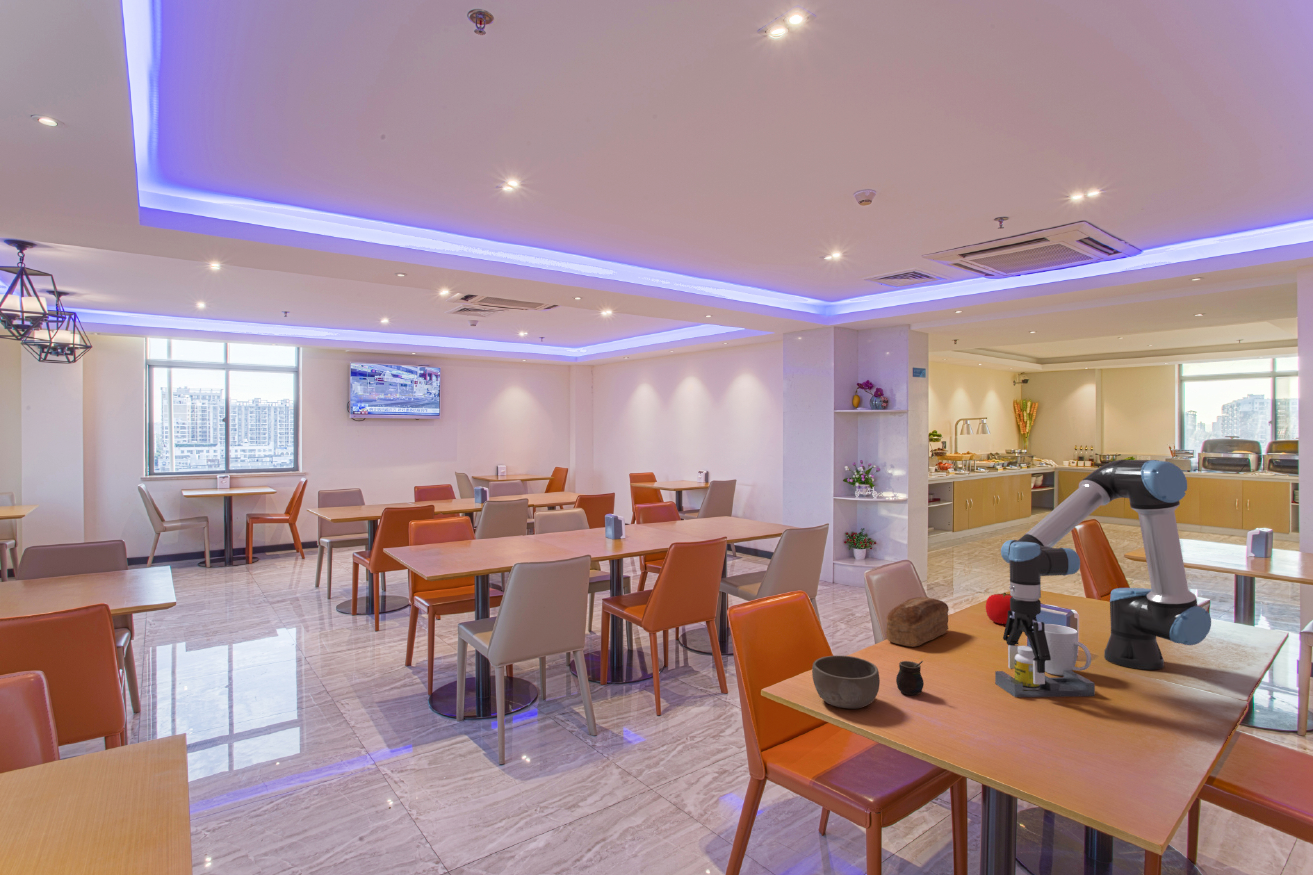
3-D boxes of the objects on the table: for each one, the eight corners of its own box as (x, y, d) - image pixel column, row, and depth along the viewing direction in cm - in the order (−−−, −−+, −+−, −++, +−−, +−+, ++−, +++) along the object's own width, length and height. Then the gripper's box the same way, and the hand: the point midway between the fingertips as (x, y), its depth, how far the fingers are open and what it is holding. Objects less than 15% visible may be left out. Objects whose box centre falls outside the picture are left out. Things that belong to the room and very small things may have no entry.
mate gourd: (902, 685, 187) (903, 650, 187) (929, 693, 182) (929, 657, 182) (891, 692, 182) (891, 656, 182) (918, 700, 177) (918, 663, 177)
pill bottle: (1009, 683, 186) (1009, 644, 186) (1030, 683, 186) (1030, 644, 186) (1023, 692, 180) (1023, 652, 180) (1045, 691, 180) (1044, 651, 180)
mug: (1099, 677, 193) (1099, 633, 193) (1081, 685, 187) (1081, 639, 187) (1046, 663, 205) (1046, 621, 205) (1028, 670, 199) (1027, 627, 199)
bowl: (845, 721, 164) (844, 681, 164) (798, 697, 180) (798, 660, 180) (894, 708, 172) (894, 669, 172) (846, 685, 188) (845, 650, 188)
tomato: (993, 627, 245) (992, 596, 245) (981, 617, 259) (981, 588, 259) (1030, 629, 243) (1029, 597, 243) (1016, 619, 257) (1015, 589, 257)
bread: (953, 632, 240) (953, 595, 240) (915, 651, 218) (915, 610, 218) (921, 626, 248) (920, 590, 248) (881, 643, 227) (881, 604, 227)
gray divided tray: (1071, 682, 189) (1070, 670, 189) (1094, 696, 179) (1094, 683, 179) (995, 683, 188) (995, 671, 188) (1014, 697, 178) (1014, 683, 178)
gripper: (989, 588, 196) (990, 661, 195) (1037, 608, 172) (1038, 692, 171) (1014, 588, 196) (1015, 661, 195) (1065, 608, 172) (1066, 691, 172)
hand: (1025, 675), depth 183 cm, fingers open, 11 cm apart
